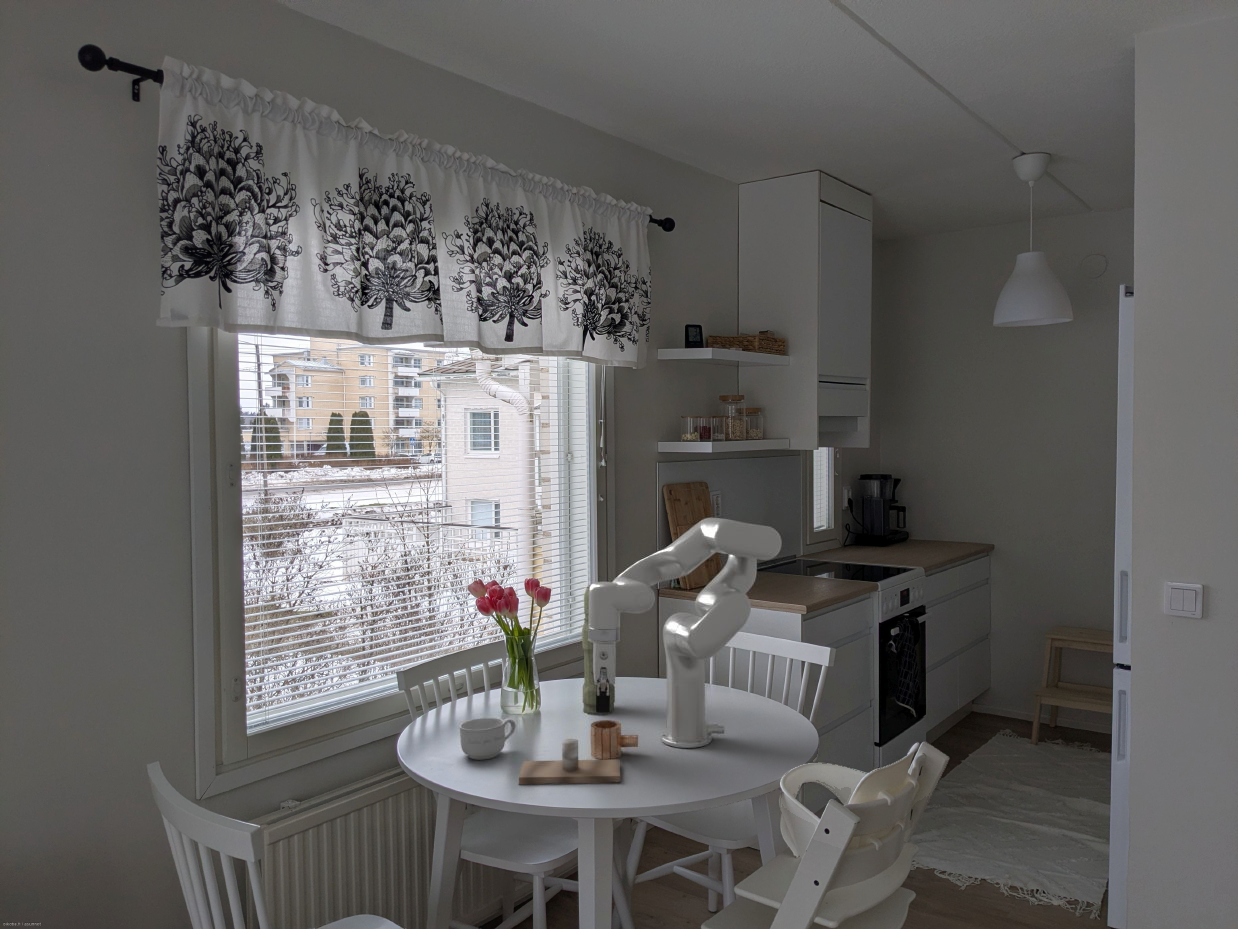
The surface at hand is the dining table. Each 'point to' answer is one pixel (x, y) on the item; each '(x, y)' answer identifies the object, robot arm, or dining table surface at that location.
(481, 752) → the teacup
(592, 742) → the wooden stave mug
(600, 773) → the duct board
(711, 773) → the dining table surface
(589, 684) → the olive green tall cylinder
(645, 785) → the dining table surface
